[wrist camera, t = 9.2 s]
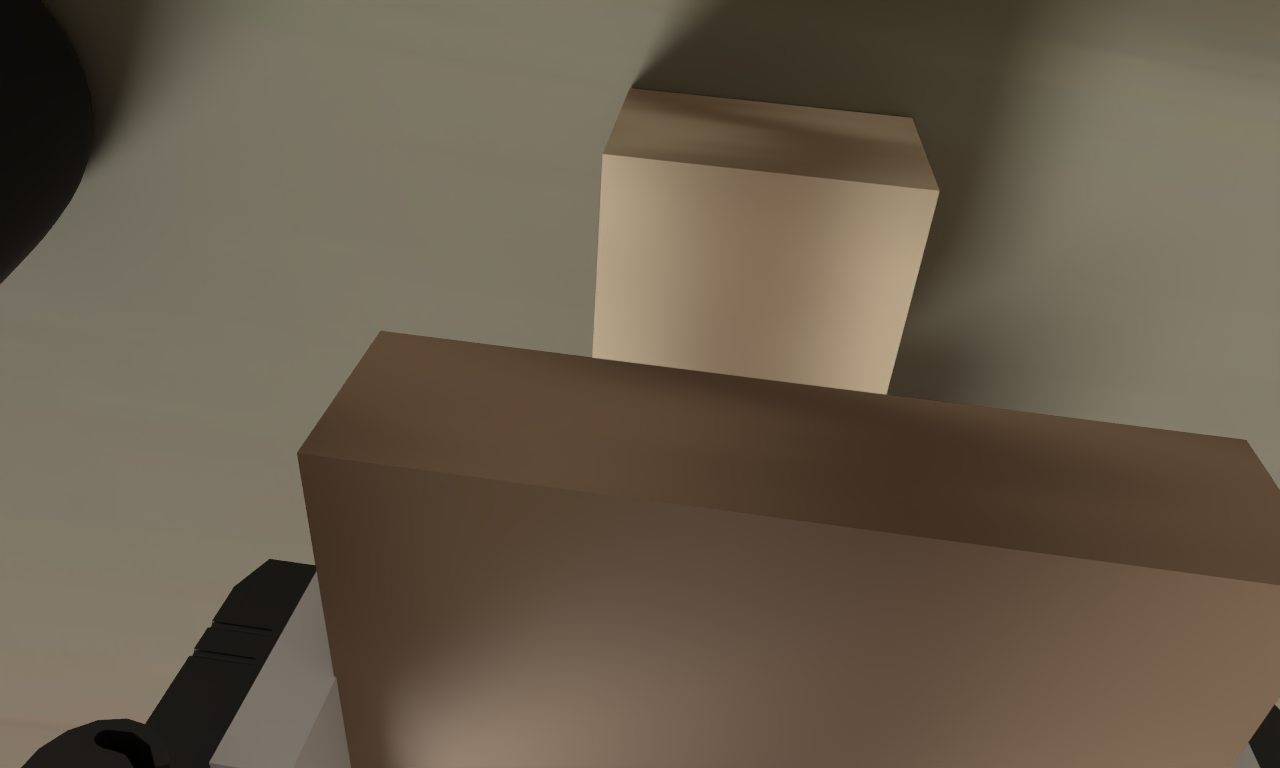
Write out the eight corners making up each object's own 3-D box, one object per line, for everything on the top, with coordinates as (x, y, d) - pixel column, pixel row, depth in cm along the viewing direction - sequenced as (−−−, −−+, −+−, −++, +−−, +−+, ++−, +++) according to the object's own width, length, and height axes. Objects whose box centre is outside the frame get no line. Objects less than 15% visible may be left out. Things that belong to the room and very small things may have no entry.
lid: (426, 813, 14) (379, 953, 13) (380, 331, 10) (296, 454, 8) (998, 904, 14) (1027, 1062, 12) (1246, 439, 9) (1349, 593, 7)
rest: (614, 328, 24) (589, 422, 21) (629, 87, 21) (602, 153, 17) (856, 357, 24) (870, 457, 20) (912, 117, 20) (939, 190, 17)
